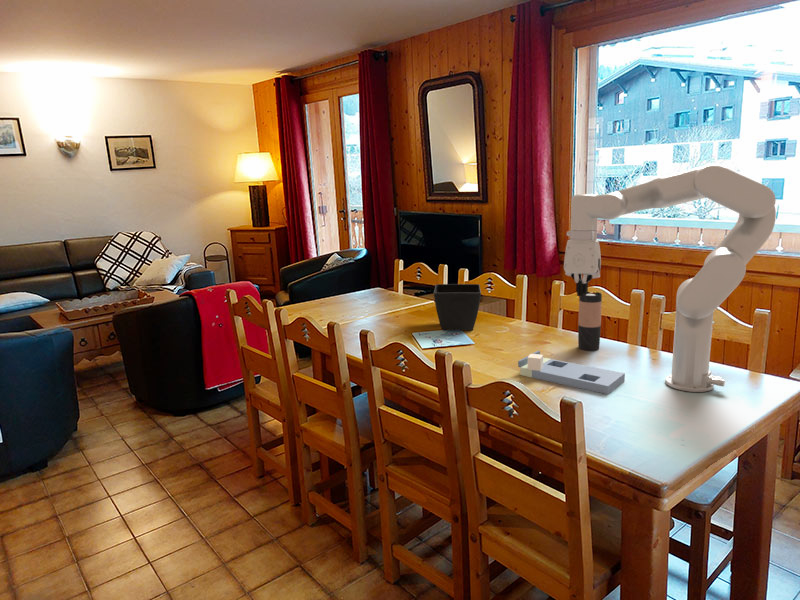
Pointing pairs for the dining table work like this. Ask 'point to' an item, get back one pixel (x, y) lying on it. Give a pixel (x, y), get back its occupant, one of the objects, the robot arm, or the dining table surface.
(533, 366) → the cream block
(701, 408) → the dining table surface
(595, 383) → the board
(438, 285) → the flower pot
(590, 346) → the travel mug
